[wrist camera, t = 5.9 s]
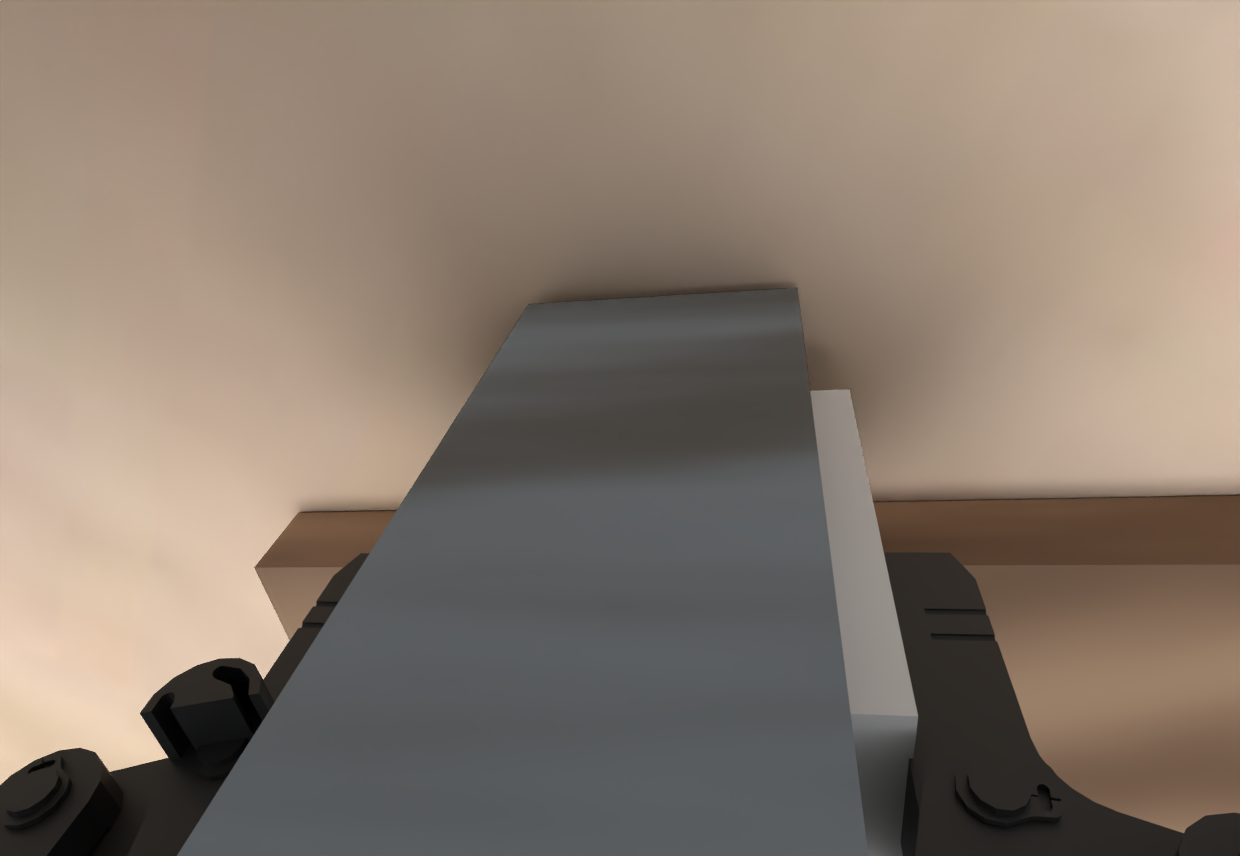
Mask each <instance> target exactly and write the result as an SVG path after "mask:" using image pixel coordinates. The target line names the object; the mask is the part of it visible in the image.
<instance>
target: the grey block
mask: <svg viewBox="0 0 1240 856" xmlns="http://www.w3.org/2000/svg"><path fill="white" fill-rule="evenodd" d="M177 856H868V849H867V841H866V833H865V825H864V817H863V809H862V801H861V793H860V785H859V777H858V769H857V761H856V753H855V745H854V737H853V729H852V721H851V713H850V705H849V697H848V689H847V681H846V673H845V665H844V657H843V649H842V641H841V633H840V625H839V617H838V609H837V601H836V593H835V585H834V577H833V569H832V561H831V553H830V545H829V537H828V529H827V521H826V513H825V505H824V497H823V489H822V481H821V473H820V465H819V457H818V449H817V441H816V433H815V425H814V417H813V409H812V401H811V393H810V385H809V377H808V369H807V361H806V353H805V345H804V337H803V329H802V321H801V313H800V305H799V297H798V289H797V288H784V289H768V290H752V291H735V292H719V293H703V294H686V295H670V296H654V297H637V298H621V299H604V300H588V301H572V302H555V303H539V304H528V306H527V307H526V309H525V311H524V312H523V314H522V315H521V317H520V318H519V320H518V322H517V323H516V325H515V326H514V328H513V329H512V331H511V333H510V334H509V336H508V337H507V339H506V340H505V342H504V343H503V345H502V347H501V348H500V350H499V351H498V353H497V354H496V356H495V358H494V359H493V361H492V362H491V364H490V365H489V367H488V369H487V370H486V372H485V373H484V375H483V376H482V378H481V380H480V381H479V383H478V384H477V386H476V387H475V389H474V391H473V392H472V394H471V395H470V397H469V398H468V400H467V402H466V403H465V405H464V406H463V408H462V409H461V411H460V412H459V414H458V416H457V417H456V419H455V420H454V422H453V423H452V425H451V427H450V428H449V430H448V431H447V433H446V434H445V436H444V438H443V439H442V441H441V442H440V444H439V445H438V447H437V449H436V450H435V452H434V453H433V455H432V456H431V458H430V460H429V461H428V463H427V464H426V466H425V467H424V469H423V471H422V472H421V474H420V475H419V477H418V478H417V480H416V482H415V483H414V485H413V486H412V488H411V489H410V491H409V492H408V494H407V496H406V497H405V499H404V500H403V502H402V503H401V505H400V507H399V508H398V510H397V511H396V513H395V514H394V516H393V518H392V519H391V521H390V522H389V524H388V525H387V527H386V529H385V530H384V532H383V533H382V535H381V536H380V538H379V540H378V541H377V543H376V544H375V546H374V547H373V549H372V551H371V552H370V554H369V555H368V557H367V558H366V560H365V561H364V563H363V565H362V566H361V568H360V569H359V571H358V572H357V574H356V576H355V577H354V579H353V580H352V582H351V583H350V585H349V587H348V588H347V590H346V591H345V593H344V594H343V596H342V598H341V599H340V601H339V602H338V604H337V605H336V607H335V609H334V610H333V612H332V613H331V615H330V616H329V618H328V620H327V621H326V623H325V624H324V626H323V627H322V629H321V630H320V632H319V634H318V635H317V637H316V638H315V640H314V641H313V643H312V645H311V646H310V648H309V649H308V651H307V652H306V654H305V656H304V657H303V659H302V660H301V662H300V663H299V665H298V667H297V668H296V670H295V671H294V673H293V674H292V676H291V678H290V679H289V681H288V682H287V684H286V685H285V687H284V689H283V690H282V692H281V693H280V695H279V696H278V698H277V700H276V701H275V703H274V704H273V706H272V707H271V709H270V710H269V712H268V714H267V715H266V717H265V718H264V720H263V721H262V723H261V725H260V726H259V728H258V729H257V731H256V732H255V734H254V736H253V737H252V739H251V740H250V742H249V743H248V745H247V747H246V748H245V750H244V751H243V753H242V754H241V756H240V758H239V759H238V761H237V762H236V764H235V765H234V767H233V769H232V770H231V772H230V773H229V775H228V776H227V778H226V779H225V781H224V783H223V784H222V786H221V787H220V789H219V790H218V792H217V794H216V795H215V797H214V798H213V800H212V801H211V803H210V805H209V806H208V808H207V809H206V811H205V812H204V814H203V816H202V817H201V819H200V820H199V822H198V823H197V825H196V827H195V828H194V830H193V831H192V833H191V834H190V836H189V838H188V839H187V841H186V842H185V844H184V845H183V847H182V849H181V850H180V852H179V853H178V855H177Z"/></svg>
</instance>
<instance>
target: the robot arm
mask: <svg viewBox="0 0 1240 856" xmlns="http://www.w3.org/2000/svg"><path fill="white" fill-rule="evenodd" d="M810 393H811V401H812V409H813V417H814V425H815V433H816V441H817V449H818V457H819V465H820V473H821V481H822V489H823V497H824V505H825V513H826V521H827V529H828V537H829V545H830V553H831V561H832V569H833V577H834V585H835V593H836V601H837V609H838V617H839V625H840V633H841V641H842V649H843V657H844V665H845V673H846V681H847V689H848V697H849V705H850V713H851V721H852V729H853V737H854V745H855V753H856V761H857V769H858V777H859V785H860V793H861V801H862V809H863V817H864V825H865V833H866V841H867V849H868V856H1240V814H1239V813H1235V812H1234V813H1225V814H1215V815H1205V816H1204V817H1202V818H1201V819H1199V820H1198V821H1196V822H1195V823H1193V824H1192V825H1190V826H1189V827H1187V828H1186V830H1185V832H1184V833H1182V832H1178V831H1175V830H1172V829H1169V828H1166V827H1163V826H1160V825H1157V824H1154V823H1151V822H1148V821H1145V820H1142V819H1139V818H1136V817H1132V816H1129V815H1126V814H1123V813H1120V812H1117V811H1115V810H1113V809H1110V808H1108V807H1105V806H1103V805H1101V804H1098V803H1096V802H1094V801H1092V800H1090V799H1089V798H1087V797H1085V796H1084V795H1082V794H1081V793H1079V792H1077V791H1076V790H1074V789H1072V788H1071V787H1070V786H1069V785H1067V784H1066V783H1065V782H1064V781H1063V780H1062V779H1061V778H1059V777H1058V776H1057V775H1056V773H1055V772H1054V771H1053V769H1052V768H1051V767H1050V766H1049V765H1047V764H1046V763H1045V761H1044V760H1043V759H1042V758H1041V757H1040V755H1039V753H1038V751H1037V749H1036V747H1035V745H1034V743H1033V741H1032V739H1031V737H1030V734H1029V731H1028V729H1027V726H1026V723H1025V720H1024V717H1023V714H1022V711H1021V708H1020V705H1019V703H1018V700H1017V697H1016V694H1015V691H1014V688H1013V685H1012V682H1011V680H1010V677H1009V674H1008V671H1007V668H1006V665H1005V662H1004V659H1003V656H1002V654H1001V651H1000V648H999V645H998V642H997V641H995V633H994V631H993V628H992V625H991V622H990V619H989V616H988V615H986V607H985V605H984V602H983V599H982V596H981V593H980V590H979V587H978V584H977V582H976V579H975V578H974V577H973V576H972V575H971V574H970V573H969V572H968V570H967V569H966V568H965V567H964V566H963V565H962V564H961V563H960V562H959V561H958V560H957V559H956V558H955V557H954V556H953V555H952V554H951V553H928V552H884V551H883V547H882V542H881V537H880V532H879V527H878V523H877V518H876V513H875V508H874V504H873V499H872V494H871V489H870V485H869V480H868V475H867V470H866V466H865V461H864V456H863V451H862V447H861V442H860V437H859V432H858V428H857V423H856V418H855V413H854V409H853V404H852V399H851V394H850V390H849V389H845V390H817V391H810ZM369 554H370V553H360V554H359V555H358V556H357V557H356V558H354V559H353V560H352V561H351V562H349V563H348V564H347V565H346V566H345V567H343V568H342V569H341V570H340V571H339V572H337V573H336V574H335V575H334V576H333V577H332V579H331V580H330V582H329V583H328V585H327V586H326V588H325V589H324V591H323V592H322V593H321V595H320V596H319V598H318V599H317V601H316V606H313V607H312V608H311V610H310V611H309V613H308V614H307V616H306V617H305V619H304V620H303V622H302V628H298V629H297V631H296V632H295V634H294V635H293V637H292V638H291V640H290V641H289V643H288V644H287V646H286V647H285V649H284V650H283V651H282V653H281V654H280V656H279V657H278V659H277V660H276V662H275V663H274V665H273V666H272V668H271V669H270V671H269V672H268V674H267V675H266V677H265V678H264V680H263V679H262V677H261V675H260V673H259V672H258V670H257V668H256V666H255V665H254V664H252V663H250V662H248V661H245V660H243V659H240V658H226V659H217V660H213V661H210V662H207V663H203V664H200V665H197V666H195V667H193V668H191V669H189V670H187V671H186V672H184V673H182V674H180V675H178V676H176V677H174V678H173V679H172V680H171V681H169V682H168V683H167V684H166V685H165V686H163V687H162V688H161V689H160V690H159V691H157V692H156V693H155V694H154V695H153V696H152V698H151V699H150V700H149V702H148V703H147V704H146V706H145V707H144V708H143V710H142V711H141V713H140V714H141V716H142V717H143V719H144V720H145V722H146V724H147V725H148V727H149V728H150V730H151V731H152V733H153V734H154V736H155V737H156V739H157V740H158V742H159V744H160V745H161V747H162V748H163V750H164V751H165V753H166V754H167V756H168V757H169V758H166V759H162V760H158V761H154V762H149V763H145V764H141V765H137V766H133V767H129V768H125V769H121V770H116V771H112V772H109V771H108V769H107V768H106V767H105V765H104V764H103V762H102V761H101V760H100V758H99V757H98V755H97V754H96V753H95V752H92V751H89V750H86V749H82V748H75V749H68V750H61V751H57V752H55V753H52V754H50V755H47V756H45V757H42V758H40V759H37V760H35V761H33V762H32V763H30V764H28V765H27V766H25V767H24V768H22V769H21V770H19V771H18V772H16V773H14V774H13V775H11V776H10V777H9V778H8V779H7V780H6V781H5V782H3V783H2V784H1V785H0V856H177V855H178V853H179V852H180V850H181V849H182V847H183V845H184V844H185V842H186V841H187V839H188V838H189V836H190V834H191V833H192V831H193V830H194V828H195V827H196V825H197V823H198V822H199V820H200V819H201V817H202V816H203V814H204V812H205V811H206V809H207V808H208V806H209V805H210V803H211V801H212V800H213V798H214V797H215V795H216V794H217V792H218V790H219V789H220V787H221V786H222V784H223V783H224V781H225V779H226V778H227V776H228V775H229V773H230V772H231V770H232V769H233V767H234V765H235V764H236V762H237V761H238V759H239V758H240V756H241V754H242V753H243V751H244V750H245V748H246V747H247V745H248V743H249V742H250V740H251V739H252V737H253V736H254V734H255V732H256V731H257V729H258V728H259V726H260V725H261V723H262V721H263V720H264V718H265V717H266V715H267V714H268V712H269V710H270V709H271V707H272V706H273V704H274V703H275V701H276V700H277V698H278V696H279V695H280V693H281V692H282V690H283V689H284V687H285V685H286V684H287V682H288V681H289V679H290V678H291V676H292V674H293V673H294V671H295V670H296V668H297V667H298V665H299V663H300V662H301V660H302V659H303V657H304V656H305V654H306V652H307V651H308V649H309V648H310V646H311V645H312V643H313V641H314V640H315V638H316V637H317V635H318V634H319V632H320V630H321V629H322V627H323V626H324V624H325V623H326V621H327V620H328V618H329V616H330V615H331V613H332V612H333V610H334V609H335V607H336V605H337V604H338V602H339V601H340V599H341V598H342V596H343V594H344V593H345V591H346V590H347V588H348V587H349V585H350V583H351V582H352V580H353V579H354V577H355V576H356V574H357V572H358V571H359V569H360V568H361V566H362V565H363V563H364V561H365V560H366V558H367V557H368V555H369Z"/></svg>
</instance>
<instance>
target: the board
mask: <svg viewBox="0 0 1240 856" xmlns="http://www.w3.org/2000/svg"><path fill="white" fill-rule="evenodd" d="M873 504H874V508H875V513H876V518H877V523H878V527H879V532H880V537H881V542H882V547H883V551H884V552H928V553H951V554H952V555H953V556H954V557H955V558H956V559H957V560H958V561H959V562H960V563H961V564H962V565H963V566H964V567H965V568H966V569H967V570H968V572H969V573H970V574H971V575H972V576H973V577H974V578H975V579H976V582H977V584H978V587H979V590H980V593H981V596H982V599H983V602H984V605H985V607H986V615H988V616H989V619H990V622H991V625H992V628H993V631H994V633H995V641H997V642H998V645H999V648H1000V651H1001V654H1002V656H1003V659H1004V662H1005V665H1006V668H1007V671H1008V674H1009V677H1010V680H1011V682H1012V685H1013V688H1014V691H1015V694H1016V697H1017V700H1018V703H1019V705H1020V708H1021V711H1022V714H1023V717H1024V720H1025V723H1026V726H1027V729H1028V731H1029V734H1030V737H1031V739H1032V741H1033V743H1034V745H1035V747H1036V749H1037V751H1038V753H1039V755H1040V757H1041V758H1042V759H1043V760H1044V761H1045V763H1046V764H1047V765H1049V766H1050V767H1051V768H1052V769H1053V771H1054V772H1055V773H1056V775H1057V776H1058V777H1059V778H1061V779H1062V780H1063V781H1064V782H1065V783H1066V784H1067V785H1069V786H1070V787H1071V788H1072V789H1074V790H1076V791H1077V792H1079V793H1081V794H1082V795H1084V796H1085V797H1087V798H1089V799H1090V800H1092V801H1094V802H1096V803H1098V804H1101V805H1103V806H1105V807H1108V808H1110V809H1113V810H1115V811H1117V812H1120V813H1123V814H1126V815H1129V816H1132V817H1136V818H1139V819H1142V820H1145V821H1148V822H1151V823H1154V824H1157V825H1160V826H1163V827H1166V828H1169V829H1172V830H1175V831H1178V832H1182V833H1184V832H1185V830H1186V828H1187V827H1189V826H1190V825H1192V824H1193V823H1195V822H1196V821H1198V820H1199V819H1201V818H1202V817H1204V816H1205V815H1215V814H1225V813H1234V812H1235V813H1239V814H1240V496H1194V497H1139V498H1083V499H1028V500H973V501H918V502H873ZM395 513H396V511H366V512H311V513H298V514H297V515H296V516H295V518H294V519H293V520H292V521H291V523H290V524H289V525H288V526H287V528H286V529H285V530H284V531H283V533H282V534H281V535H280V536H279V538H278V539H277V540H276V541H275V543H274V544H273V545H272V546H271V548H270V549H269V550H268V551H267V553H266V554H265V555H264V556H263V557H262V559H261V560H260V561H259V562H258V564H257V565H256V566H255V567H254V568H255V570H256V572H257V574H258V576H259V578H260V580H261V582H262V584H263V586H264V588H265V590H266V592H267V594H268V597H269V599H270V601H271V603H272V605H273V607H274V609H275V611H276V613H277V615H278V617H279V619H280V621H281V623H282V625H283V627H284V629H285V632H286V634H287V636H288V638H289V640H291V638H292V637H293V635H294V634H295V632H296V631H297V629H298V628H302V622H303V620H304V619H305V617H306V616H307V614H308V613H309V611H310V610H311V608H312V607H313V606H316V601H317V599H318V598H319V596H320V595H321V593H322V592H323V591H324V589H325V588H326V586H327V585H328V583H329V582H330V580H331V579H332V577H333V576H334V575H335V574H336V573H337V572H339V571H340V570H341V569H342V568H343V567H345V566H346V565H347V564H348V563H349V562H351V561H352V560H353V559H354V558H356V557H357V556H358V555H359V554H360V553H370V552H371V551H372V549H373V547H374V546H375V544H376V543H377V541H378V540H379V538H380V536H381V535H382V533H383V532H384V530H385V529H386V527H387V525H388V524H389V522H390V521H391V519H392V518H393V516H394V514H395Z"/></svg>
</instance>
